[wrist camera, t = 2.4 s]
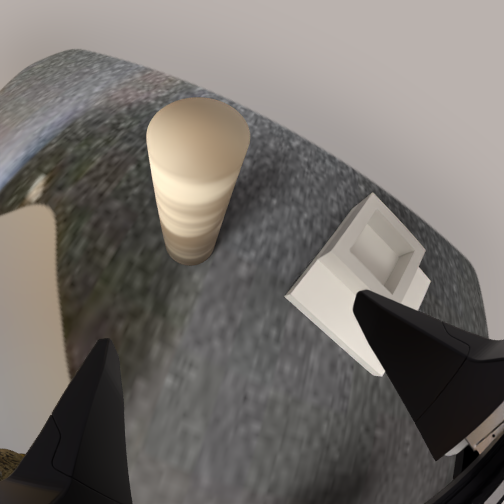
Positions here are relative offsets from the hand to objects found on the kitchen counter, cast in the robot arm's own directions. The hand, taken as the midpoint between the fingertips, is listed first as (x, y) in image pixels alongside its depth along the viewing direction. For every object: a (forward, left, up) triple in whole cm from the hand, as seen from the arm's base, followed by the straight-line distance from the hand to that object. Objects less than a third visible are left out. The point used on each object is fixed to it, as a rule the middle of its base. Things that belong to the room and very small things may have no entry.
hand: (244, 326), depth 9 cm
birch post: (+4, +6, -14) cm, 15 cm away
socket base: (+12, -9, -13) cm, 20 cm away
